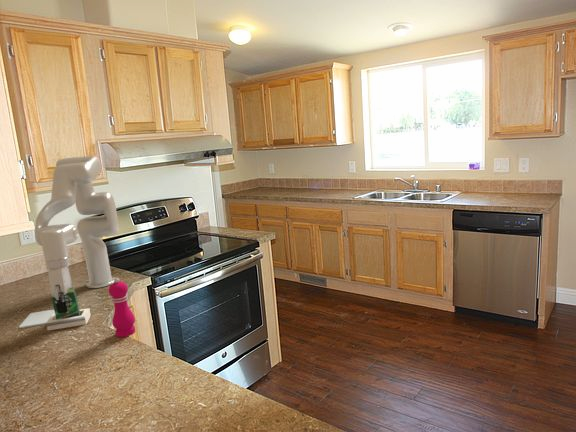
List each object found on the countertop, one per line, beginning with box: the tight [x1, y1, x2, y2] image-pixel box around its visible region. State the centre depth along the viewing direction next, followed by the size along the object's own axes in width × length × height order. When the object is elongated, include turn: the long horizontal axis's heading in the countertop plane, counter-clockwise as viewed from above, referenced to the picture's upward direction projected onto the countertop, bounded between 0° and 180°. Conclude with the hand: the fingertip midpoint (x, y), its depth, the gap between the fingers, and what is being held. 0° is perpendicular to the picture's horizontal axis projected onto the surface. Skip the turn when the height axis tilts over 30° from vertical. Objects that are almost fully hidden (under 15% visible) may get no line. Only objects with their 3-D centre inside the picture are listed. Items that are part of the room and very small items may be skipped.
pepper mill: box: [108, 277, 136, 338], centre depth 146 cm, size 7×7×20 cm
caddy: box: [44, 308, 92, 332], centre depth 160 cm, size 9×13×3 cm
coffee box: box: [50, 286, 81, 320], centre depth 159 cm, size 8×3×13 cm, turn 108°
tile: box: [18, 309, 55, 330], centre depth 167 cm, size 13×11×1 cm
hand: (66, 307), depth 159 cm, fingers open, 9 cm apart
